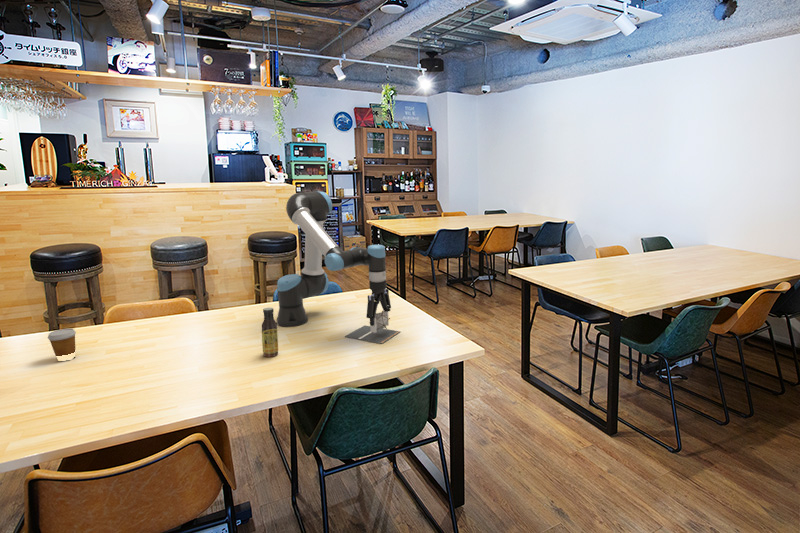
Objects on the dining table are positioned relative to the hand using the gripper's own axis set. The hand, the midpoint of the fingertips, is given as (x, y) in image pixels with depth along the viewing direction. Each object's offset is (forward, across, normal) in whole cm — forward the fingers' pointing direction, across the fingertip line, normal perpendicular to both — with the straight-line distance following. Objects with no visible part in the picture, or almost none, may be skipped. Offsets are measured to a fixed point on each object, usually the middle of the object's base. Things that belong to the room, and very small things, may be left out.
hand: (379, 328), depth 205 cm
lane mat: (+4, 0, +4) cm, 5 cm away
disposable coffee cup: (+4, -79, +106) cm, 132 cm away
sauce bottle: (+4, -38, +30) cm, 48 cm away
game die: (+1, 0, 0) cm, 1 cm away
